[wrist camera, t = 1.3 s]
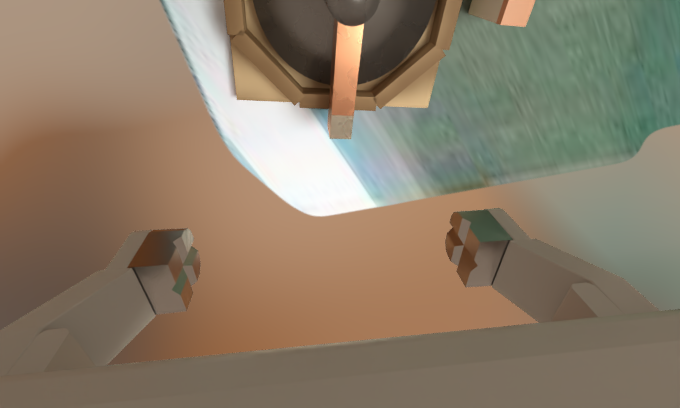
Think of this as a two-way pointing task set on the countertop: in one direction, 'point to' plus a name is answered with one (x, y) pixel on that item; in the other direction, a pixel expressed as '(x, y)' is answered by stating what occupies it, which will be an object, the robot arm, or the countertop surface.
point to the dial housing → (290, 86)
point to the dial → (343, 43)
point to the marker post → (503, 11)
